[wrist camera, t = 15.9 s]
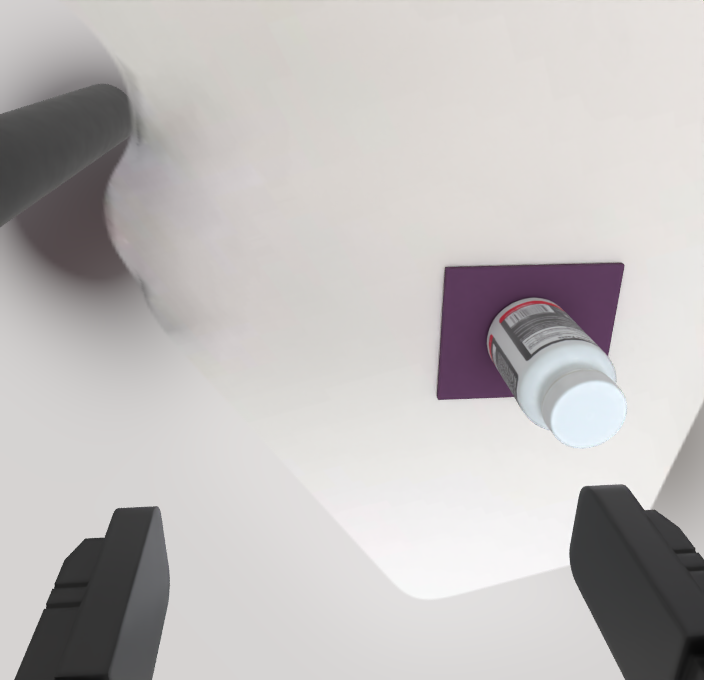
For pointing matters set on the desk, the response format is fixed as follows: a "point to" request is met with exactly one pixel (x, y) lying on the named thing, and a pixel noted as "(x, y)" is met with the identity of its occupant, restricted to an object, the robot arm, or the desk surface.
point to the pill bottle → (557, 373)
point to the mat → (499, 292)
